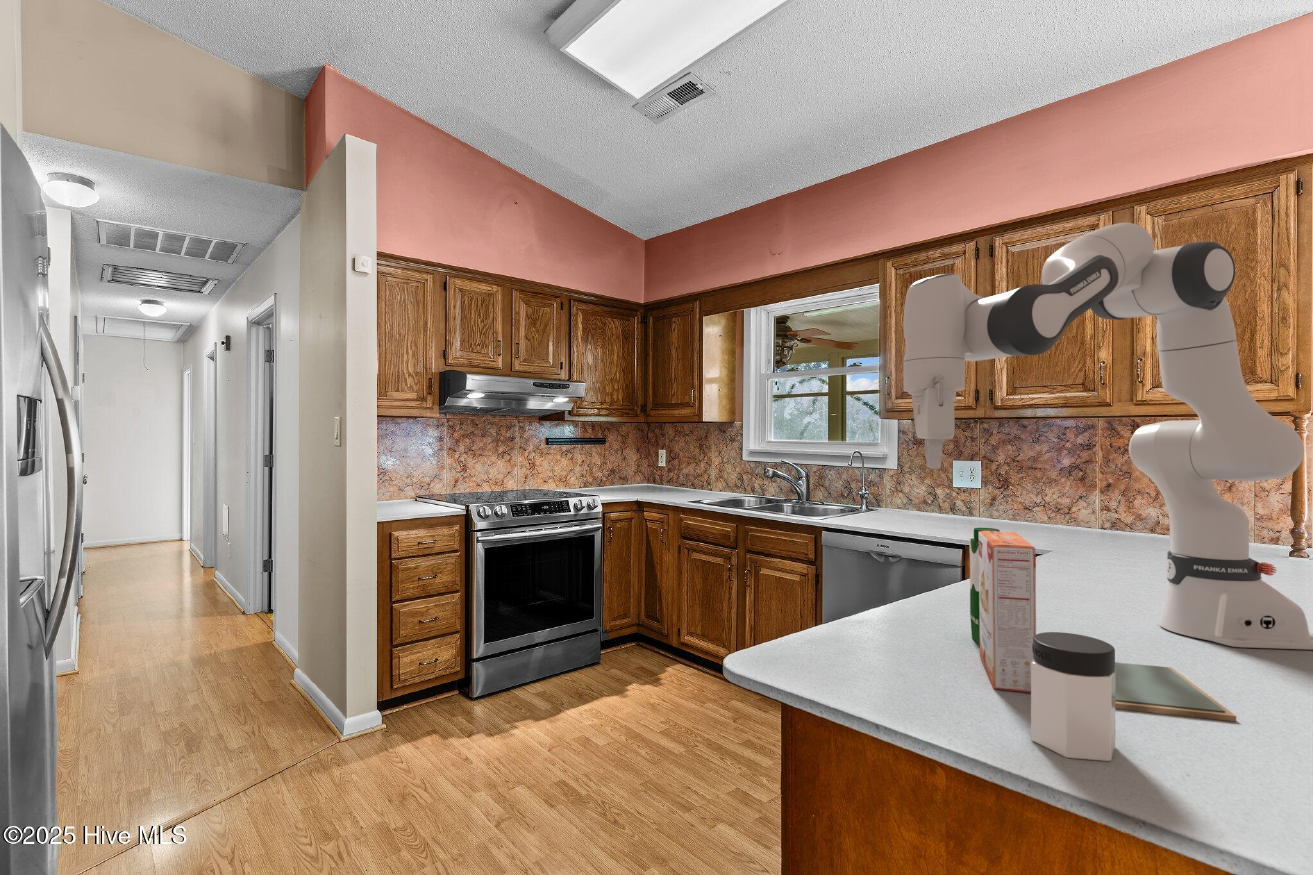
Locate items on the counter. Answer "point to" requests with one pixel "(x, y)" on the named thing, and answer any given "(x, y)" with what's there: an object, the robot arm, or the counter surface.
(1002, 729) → the counter surface
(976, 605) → the soya milk
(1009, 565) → the cracker box
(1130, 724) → the counter surface
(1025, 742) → the counter surface
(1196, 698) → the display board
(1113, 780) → the counter surface
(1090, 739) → the jar
